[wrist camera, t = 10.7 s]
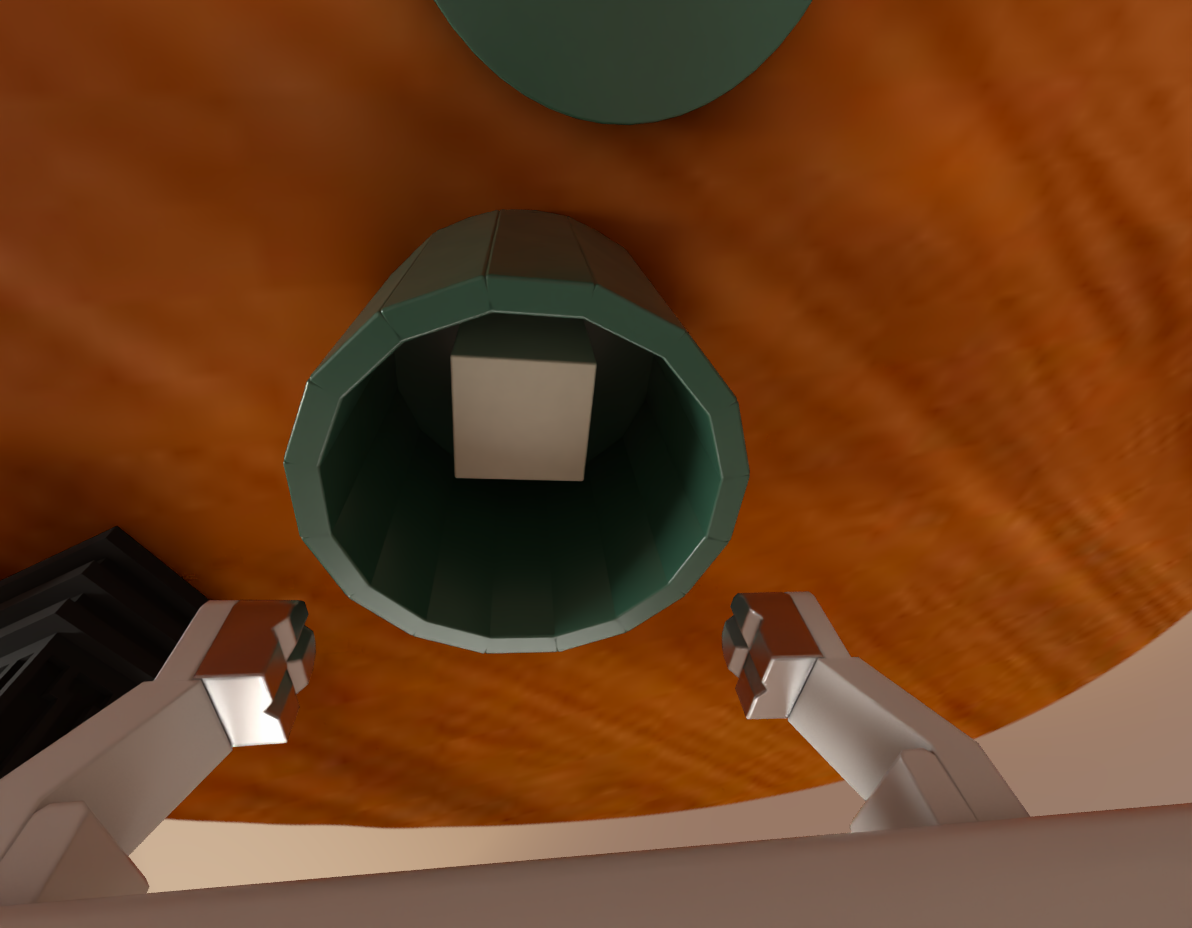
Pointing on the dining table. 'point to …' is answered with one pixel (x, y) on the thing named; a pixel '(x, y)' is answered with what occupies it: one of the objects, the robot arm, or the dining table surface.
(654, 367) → the green hollow cylinder
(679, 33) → the lid
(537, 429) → the block
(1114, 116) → the dining table surface
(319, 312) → the dining table surface
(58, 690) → the chess piece
